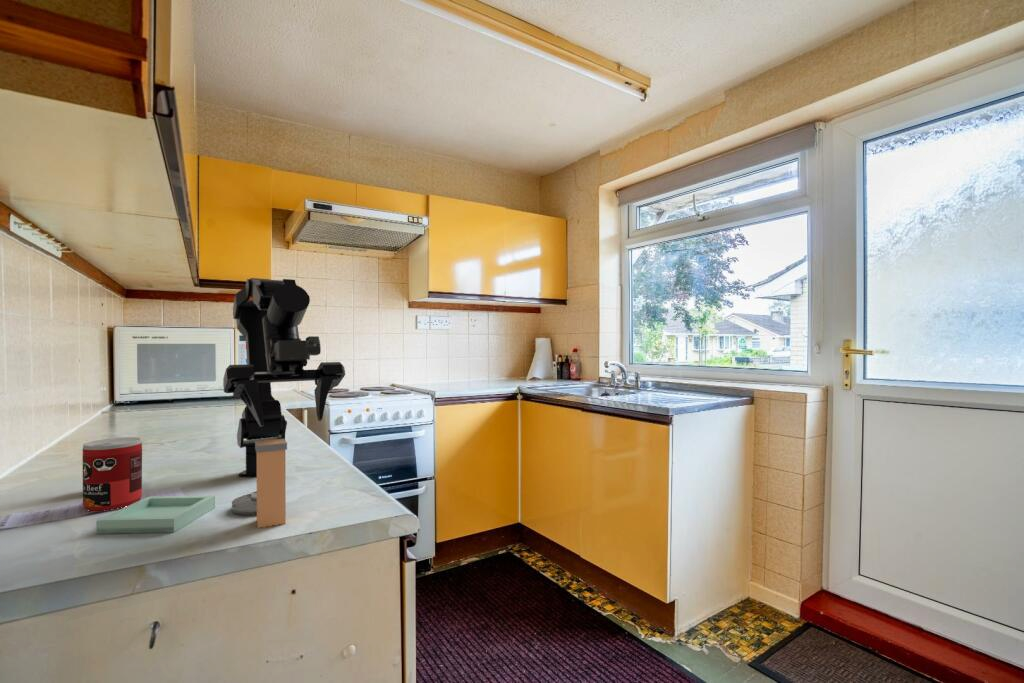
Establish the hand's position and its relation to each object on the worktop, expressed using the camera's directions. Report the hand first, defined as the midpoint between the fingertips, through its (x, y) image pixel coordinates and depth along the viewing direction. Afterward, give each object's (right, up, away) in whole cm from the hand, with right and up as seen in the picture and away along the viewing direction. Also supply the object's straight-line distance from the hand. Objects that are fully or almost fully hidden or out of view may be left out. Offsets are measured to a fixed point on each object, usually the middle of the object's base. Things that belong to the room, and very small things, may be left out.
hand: (292, 422), depth 82 cm
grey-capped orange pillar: (-1, -15, -6) cm, 16 cm away
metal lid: (-6, -15, +1) cm, 16 cm away
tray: (-19, -15, -5) cm, 24 cm away
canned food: (-32, -15, +3) cm, 36 cm away
